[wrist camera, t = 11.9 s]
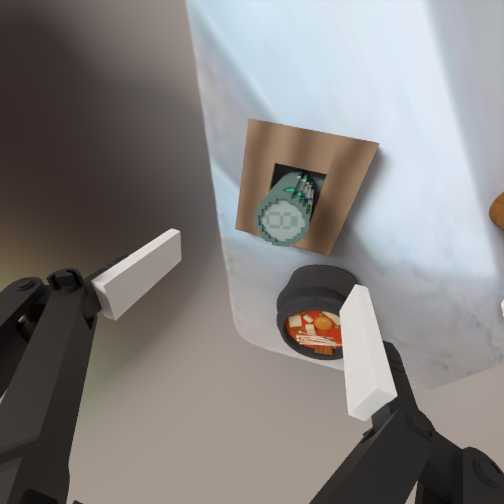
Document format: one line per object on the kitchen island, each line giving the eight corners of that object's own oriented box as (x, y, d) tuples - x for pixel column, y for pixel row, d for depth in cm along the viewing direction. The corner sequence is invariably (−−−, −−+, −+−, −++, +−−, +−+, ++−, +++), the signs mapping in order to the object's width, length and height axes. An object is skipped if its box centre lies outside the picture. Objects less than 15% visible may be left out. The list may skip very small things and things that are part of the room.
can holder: (374, 142, 29) (379, 143, 27) (328, 247, 39) (329, 255, 36) (254, 119, 32) (248, 118, 29) (240, 223, 42) (235, 228, 39)
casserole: (352, 349, 50) (356, 384, 44) (277, 333, 56) (271, 362, 49) (378, 265, 38) (390, 295, 31) (278, 254, 43) (270, 278, 36)
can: (312, 207, 36) (306, 248, 24) (278, 205, 38) (256, 243, 25) (316, 170, 33) (311, 195, 21) (278, 170, 35) (254, 194, 22)
